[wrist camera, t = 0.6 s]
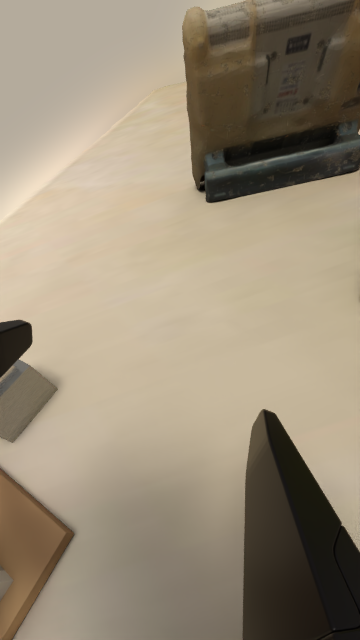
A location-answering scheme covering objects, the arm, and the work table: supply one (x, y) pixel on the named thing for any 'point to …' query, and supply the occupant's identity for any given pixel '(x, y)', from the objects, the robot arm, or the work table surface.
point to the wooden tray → (25, 552)
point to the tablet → (272, 93)
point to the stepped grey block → (21, 398)
